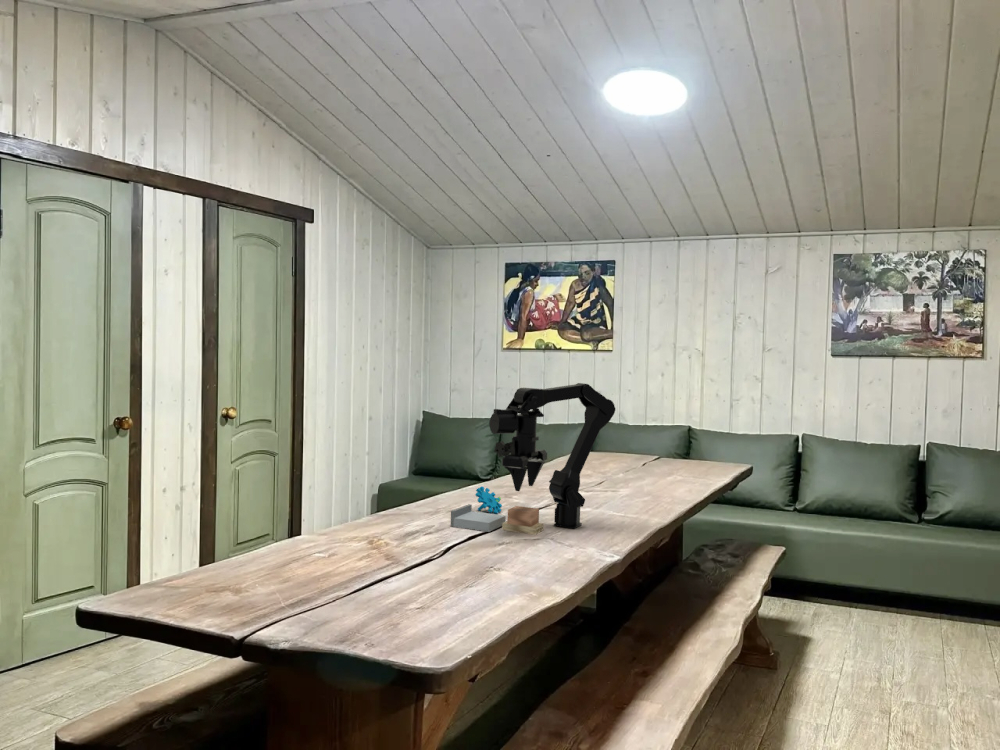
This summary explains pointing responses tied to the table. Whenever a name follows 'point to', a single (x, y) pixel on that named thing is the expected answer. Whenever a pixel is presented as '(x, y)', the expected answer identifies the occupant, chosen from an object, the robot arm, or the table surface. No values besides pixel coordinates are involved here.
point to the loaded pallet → (523, 529)
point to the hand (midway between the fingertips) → (524, 488)
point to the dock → (475, 519)
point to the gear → (488, 500)
